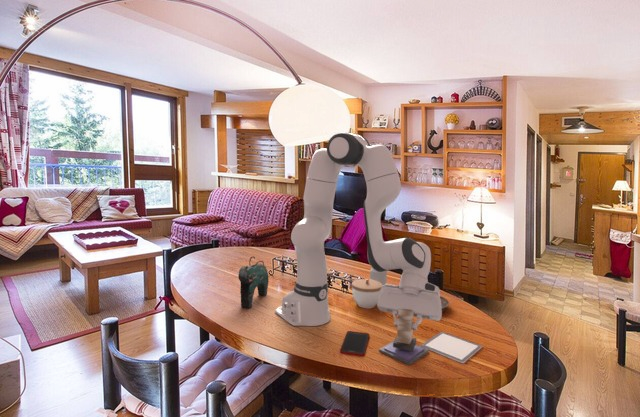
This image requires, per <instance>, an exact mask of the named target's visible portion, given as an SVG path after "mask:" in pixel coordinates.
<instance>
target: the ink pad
mask: <svg viewBox="0 0 640 417" xmlns="http://www.w3.org/2000/svg"><path fill="white" fill-rule="evenodd" d="M393 342H394V340H392V341H391V342H389V343H388V344H386V345H384V346H382V347H380V348H379V349H378V351H379V353H382V354H384V355H386V356H388V357H390V358H393V359H395V360H397V361H399V362H402V363H404V364H406V365H408V366H412V364H414V363H415V362H417V361H418V360H420V359H421V358H422V357H424V356H425V355H427V354H428V353H429V351H430V350H428V349H426V348H423V347H421V345H418V344H416V345H415V347H414V349H413V351H409V350H404V349H400V348H395V347H393Z"/></svg>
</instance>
